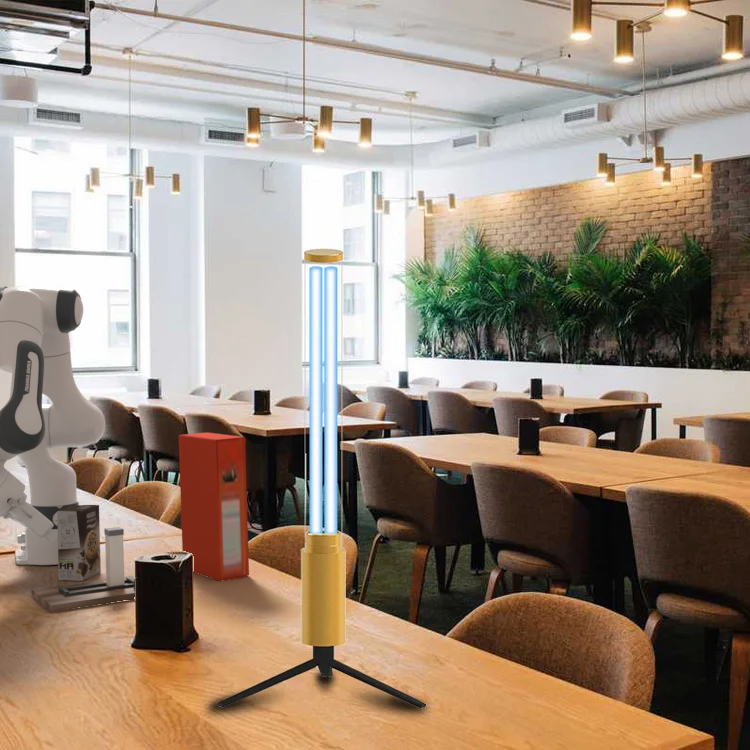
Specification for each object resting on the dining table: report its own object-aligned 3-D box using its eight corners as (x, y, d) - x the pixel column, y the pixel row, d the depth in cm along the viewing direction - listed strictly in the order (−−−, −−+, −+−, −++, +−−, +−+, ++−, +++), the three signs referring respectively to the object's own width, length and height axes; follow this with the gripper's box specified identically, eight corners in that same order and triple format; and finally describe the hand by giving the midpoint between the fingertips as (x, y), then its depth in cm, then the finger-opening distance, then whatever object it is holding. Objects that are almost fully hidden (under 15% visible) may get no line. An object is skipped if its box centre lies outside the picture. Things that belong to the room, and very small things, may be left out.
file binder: (218, 581, 234) (214, 439, 233) (181, 569, 248) (178, 434, 247) (249, 576, 239) (246, 436, 238) (212, 564, 253) (208, 432, 252)
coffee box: (83, 581, 237) (81, 510, 237) (57, 580, 239) (55, 510, 238) (102, 572, 246) (100, 504, 246) (76, 571, 247) (75, 503, 247)
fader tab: (105, 584, 226) (104, 528, 225) (120, 582, 227) (118, 526, 227) (110, 587, 223) (108, 530, 223) (125, 585, 225) (123, 529, 224)
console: (31, 596, 224) (31, 580, 224) (132, 582, 235) (131, 566, 235) (51, 612, 210) (50, 595, 210) (156, 596, 222) (156, 580, 222)
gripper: (26, 491, 205) (78, 534, 211) (3, 478, 222) (51, 519, 228) (3, 516, 203) (56, 559, 208) (-18, 501, 220) (31, 542, 226)
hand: (53, 538), depth 218 cm, fingers closed
